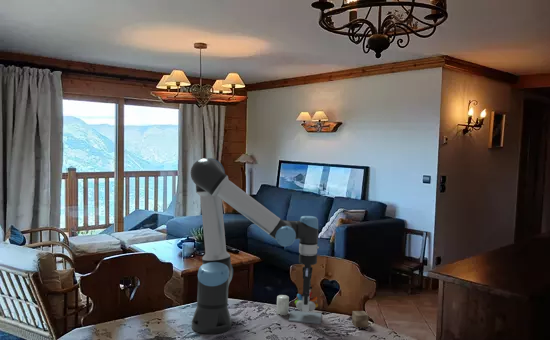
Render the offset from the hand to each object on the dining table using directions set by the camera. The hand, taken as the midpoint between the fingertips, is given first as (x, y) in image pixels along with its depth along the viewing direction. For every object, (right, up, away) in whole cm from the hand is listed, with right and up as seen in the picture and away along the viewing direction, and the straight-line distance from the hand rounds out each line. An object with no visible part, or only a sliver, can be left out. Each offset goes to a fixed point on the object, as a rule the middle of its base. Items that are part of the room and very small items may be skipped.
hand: (306, 308), depth 181 cm
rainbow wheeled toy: (0, 0, 0) cm, 0 cm away
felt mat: (0, -4, 0) cm, 4 cm away
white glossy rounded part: (-10, -4, +4) cm, 11 cm away
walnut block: (+21, -5, -6) cm, 22 cm away
